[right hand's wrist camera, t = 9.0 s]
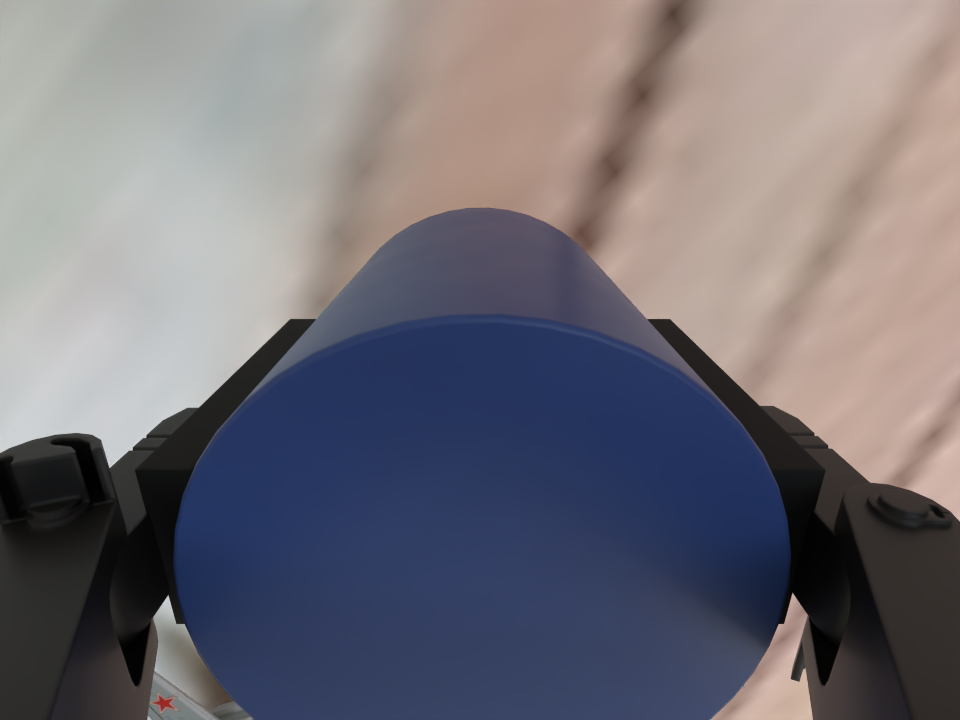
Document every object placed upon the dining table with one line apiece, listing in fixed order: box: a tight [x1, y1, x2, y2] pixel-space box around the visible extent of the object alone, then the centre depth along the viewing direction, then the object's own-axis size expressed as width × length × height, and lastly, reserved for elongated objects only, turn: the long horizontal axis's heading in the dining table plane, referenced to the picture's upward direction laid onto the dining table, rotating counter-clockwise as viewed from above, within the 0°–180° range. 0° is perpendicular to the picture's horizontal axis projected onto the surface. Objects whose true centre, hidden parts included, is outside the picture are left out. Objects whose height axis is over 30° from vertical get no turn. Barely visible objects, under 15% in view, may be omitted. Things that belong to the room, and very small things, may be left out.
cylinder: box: [173, 208, 791, 720], centre depth 11 cm, size 8×8×9 cm
